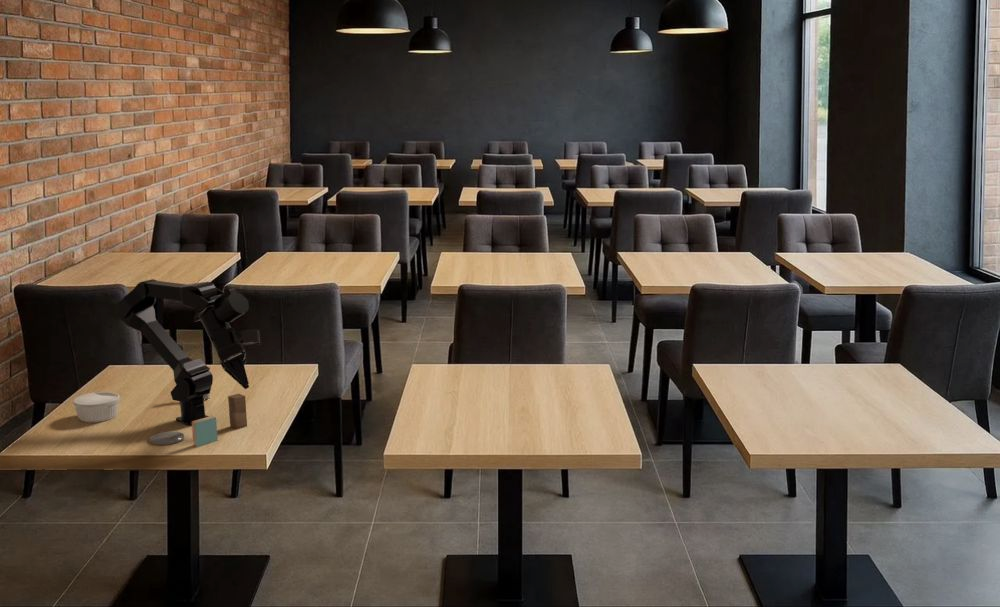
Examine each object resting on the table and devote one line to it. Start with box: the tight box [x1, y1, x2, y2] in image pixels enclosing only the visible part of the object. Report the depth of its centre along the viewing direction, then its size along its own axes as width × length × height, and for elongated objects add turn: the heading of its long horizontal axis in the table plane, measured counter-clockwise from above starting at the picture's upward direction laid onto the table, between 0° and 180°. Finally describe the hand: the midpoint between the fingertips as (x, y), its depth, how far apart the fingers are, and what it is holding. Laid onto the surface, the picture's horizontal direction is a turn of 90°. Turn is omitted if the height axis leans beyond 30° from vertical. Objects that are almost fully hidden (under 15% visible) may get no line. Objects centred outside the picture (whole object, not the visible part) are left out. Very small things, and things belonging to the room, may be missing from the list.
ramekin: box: [72, 391, 121, 423], centre depth 269 cm, size 11×11×5 cm
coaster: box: [149, 431, 185, 446], centre depth 253 cm, size 8×8×1 cm
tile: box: [191, 415, 219, 448], centre depth 250 cm, size 2×6×6 cm, turn 137°
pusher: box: [227, 393, 248, 430], centre depth 261 cm, size 3×3×8 cm
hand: (247, 386), depth 255 cm, fingers open, 9 cm apart
